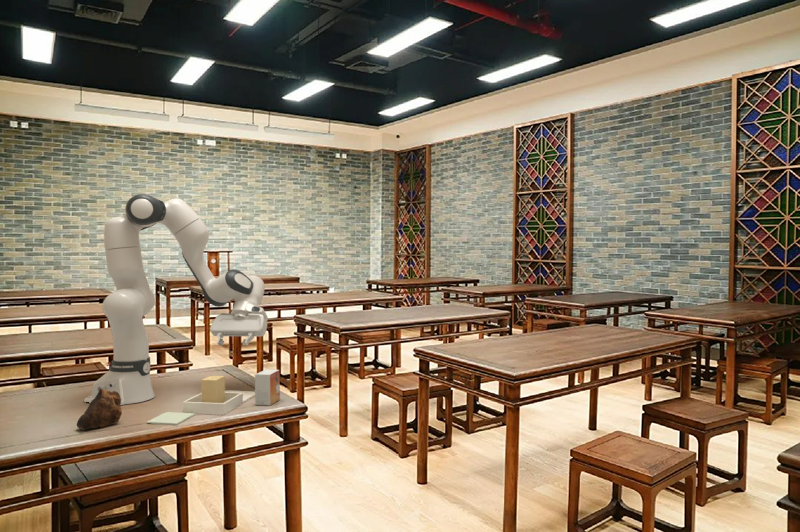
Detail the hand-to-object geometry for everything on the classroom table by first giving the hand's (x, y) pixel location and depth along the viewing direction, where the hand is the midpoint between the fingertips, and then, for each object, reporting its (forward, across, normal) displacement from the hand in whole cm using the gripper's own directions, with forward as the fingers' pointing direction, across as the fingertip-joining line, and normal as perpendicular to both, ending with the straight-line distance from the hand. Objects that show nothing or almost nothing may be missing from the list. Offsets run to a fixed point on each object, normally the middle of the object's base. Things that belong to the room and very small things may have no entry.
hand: (232, 344), depth 192 cm
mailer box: (+18, 0, +8) cm, 20 cm away
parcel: (+23, 0, +4) cm, 23 cm away
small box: (+17, +15, +10) cm, 25 cm away
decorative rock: (+38, -24, -12) cm, 47 cm away
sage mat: (+32, -7, -6) cm, 33 cm away
